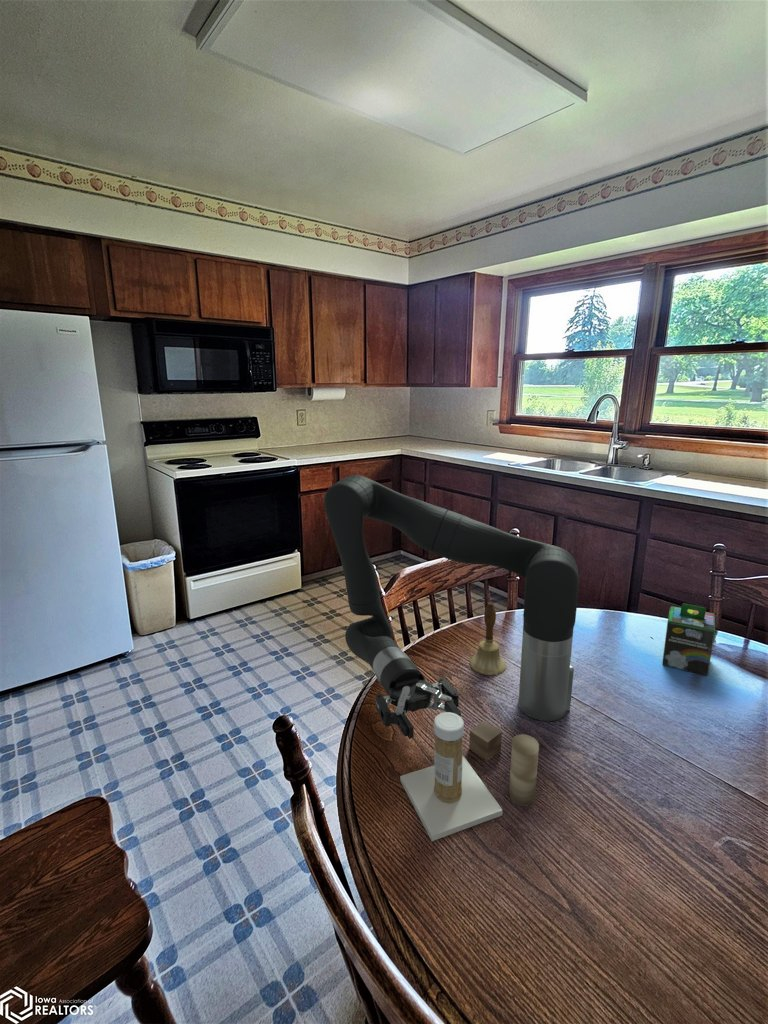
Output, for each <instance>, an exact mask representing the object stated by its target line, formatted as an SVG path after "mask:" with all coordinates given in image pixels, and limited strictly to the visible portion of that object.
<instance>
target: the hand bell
mask: <svg viewBox="0 0 768 1024" xmlns="http://www.w3.org/2000/svg"><path fill="white" fill-rule="evenodd" d="M494 604H495V603H493V602H492V601H489V602H487V604H486V607H485V610H484V612H483V613H484V614H483V618H484V619H483V620H484V625H485V640H481V641H480V643H479V645H478V649H477V652H476V654H475V655H474V656H473V657H471V658H470V661H469V665H470V668H471V669H472V670H473V671H474V672H477V673H478V674H481V675H484V676H498V675H500V674H503V673H504V672H505V671H506V670H507V664H506V662H505V661H504V659H503V658H502V657H501V655H500V645H499V644H498V643H497V641H494V626H495V624H496V620H497V613H496V612H497V611H496V608H495V606H494Z"/></svg>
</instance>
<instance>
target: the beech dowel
mask: <svg viewBox="0 0 768 1024" xmlns="http://www.w3.org/2000/svg"><path fill="white" fill-rule="evenodd" d="M539 748H540V744H539V742H538V740H537V739H535V738H534V737H533V736H531V735H529V734H521V733H520V734H517V735H515V736H514V737H513V738H512V740H511V752H510V771H509V790H508V794H509V795H508V797H509V798H510V800H511V801H512V802H513V803H514V804H516V805H518V806H521V807H528V806H531V805H532V804H534V802H535V800H536V788H537V787H536V786H537V776H538V761H539V750H540V749H539Z"/></svg>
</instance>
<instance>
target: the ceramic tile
mask: <svg viewBox="0 0 768 1024" xmlns="http://www.w3.org/2000/svg"><path fill="white" fill-rule="evenodd" d="M399 780H400V783H401V785H402V787H403V788H404V791H405V793H406V795H407V796H408V798H409V800H410V802H411V804H412V806H413V808H414V810H415V812H416V813H417V816H418V818H419V819H420V821H421V823H422V825H423V827H424V829H425V831H426V833H427V834H428V836H429V839H430V841H431V842H434V841H436V840H439V839H442V838H444V837H447V836H450V835H453V834H456V833H459V832H461V831H463V830H466V829H469V828H473V827H474V826H477V825H479V824H482V823H486V822H488V821H490V820H493V819H497V818H499V817H501V816H503V813H504V812H503V809H502V807H501V806H500V805H499V803H498V801H497V800H496V799H495V797H494V796H493V794H492V793H491V792H490V791H489V789H488V788H487V786H486V785H485V784H484V782H483V781H482V780H481V778H480V777H479V775H478V774H477V773H476V771H475V770H474V769H473V767H472V766H471V764H470V763H469V762H468V760H467V758H466V757H465V756H464V755H462V780H461V781H462V784H461V787H462V795H461V797H460V798H459V799H458V800H457V801H455V802H444V801H442V800H440V799H439V798H438V797H437V796H436V795H435V793H434V786H435V775H434V765H431V766H428V767H425V768H424V767H423V768H422V769H418V770H415V771H412V772H409V773H406V774H405V773H404V774H402V775H400V777H399Z"/></svg>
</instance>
